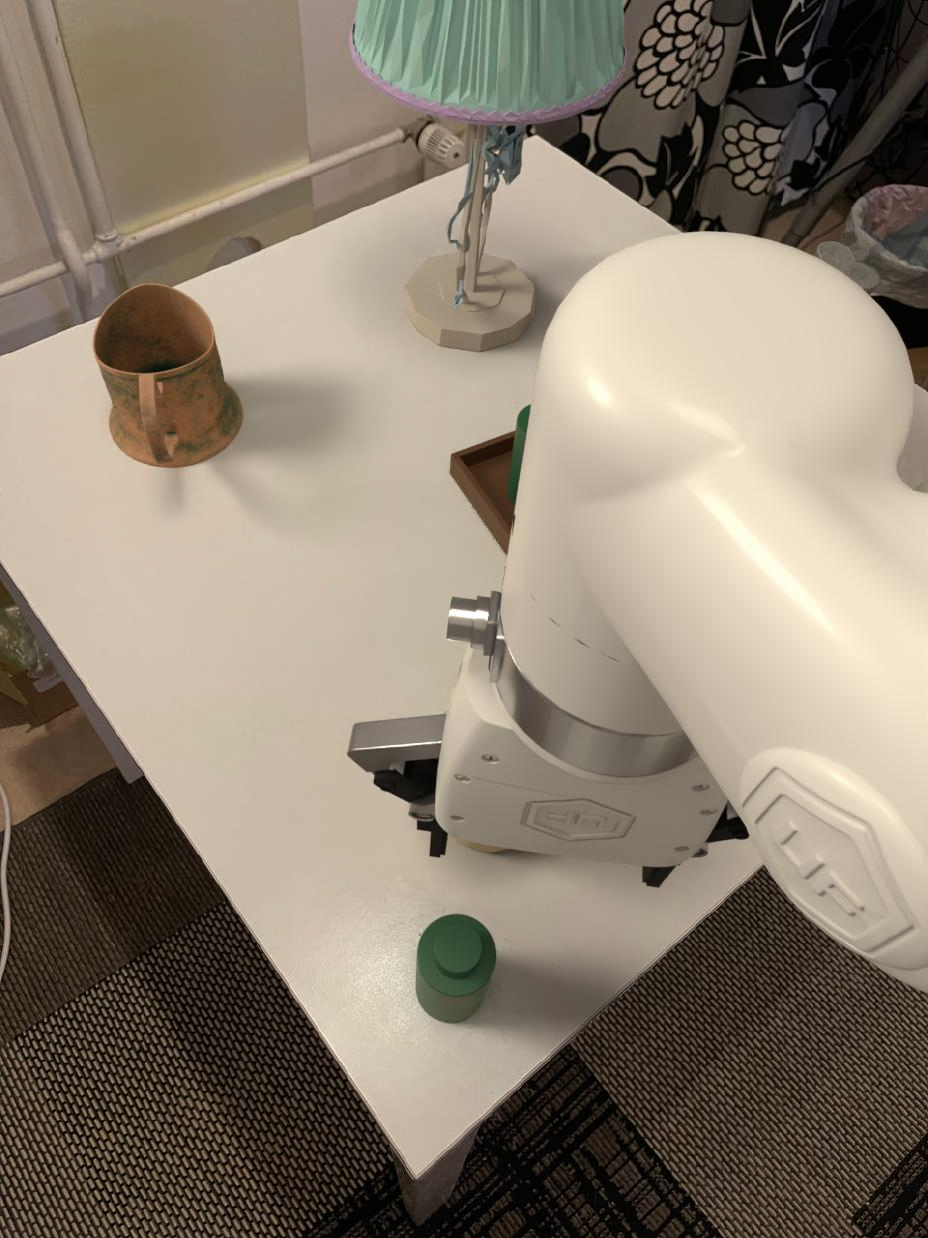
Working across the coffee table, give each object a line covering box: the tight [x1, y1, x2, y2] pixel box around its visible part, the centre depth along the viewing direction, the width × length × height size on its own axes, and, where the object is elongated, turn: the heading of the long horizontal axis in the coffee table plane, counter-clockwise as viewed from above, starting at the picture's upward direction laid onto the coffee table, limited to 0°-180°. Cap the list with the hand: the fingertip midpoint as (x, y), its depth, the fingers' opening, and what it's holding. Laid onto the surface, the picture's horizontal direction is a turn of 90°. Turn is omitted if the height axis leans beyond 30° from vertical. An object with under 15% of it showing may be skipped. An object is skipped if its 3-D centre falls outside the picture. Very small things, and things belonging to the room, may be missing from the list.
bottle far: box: [507, 403, 531, 505], centre depth 75 cm, size 4×4×10 cm
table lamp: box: [348, 0, 628, 353], centre depth 76 cm, size 22×22×40 cm
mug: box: [92, 282, 243, 468], centre depth 76 cm, size 12×18×12 cm, turn 11°
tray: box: [449, 430, 515, 556], centre depth 75 cm, size 25×10×2 cm, turn 28°
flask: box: [813, 241, 880, 297], centre depth 77 cm, size 4×14×18 cm, turn 171°
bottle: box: [415, 913, 498, 1024], centre depth 53 cm, size 4×4×10 cm
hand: (545, 839), depth 42 cm, fingers open, 9 cm apart
